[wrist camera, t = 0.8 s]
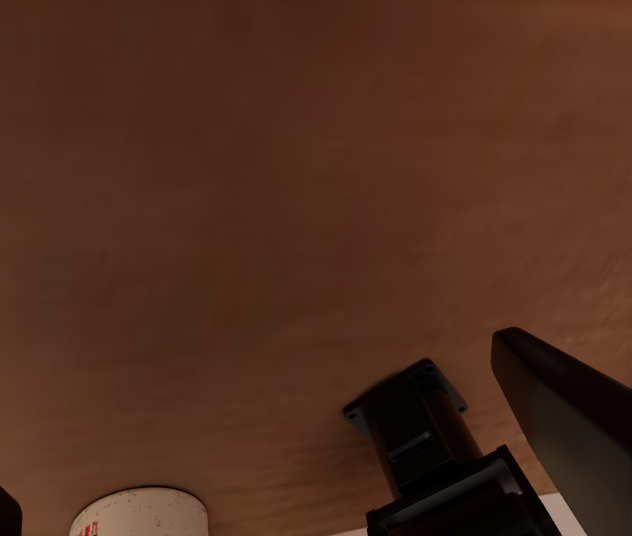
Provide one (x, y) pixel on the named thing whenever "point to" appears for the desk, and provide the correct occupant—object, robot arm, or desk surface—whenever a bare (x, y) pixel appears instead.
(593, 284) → the desk surface
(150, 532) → the teacup with lid
